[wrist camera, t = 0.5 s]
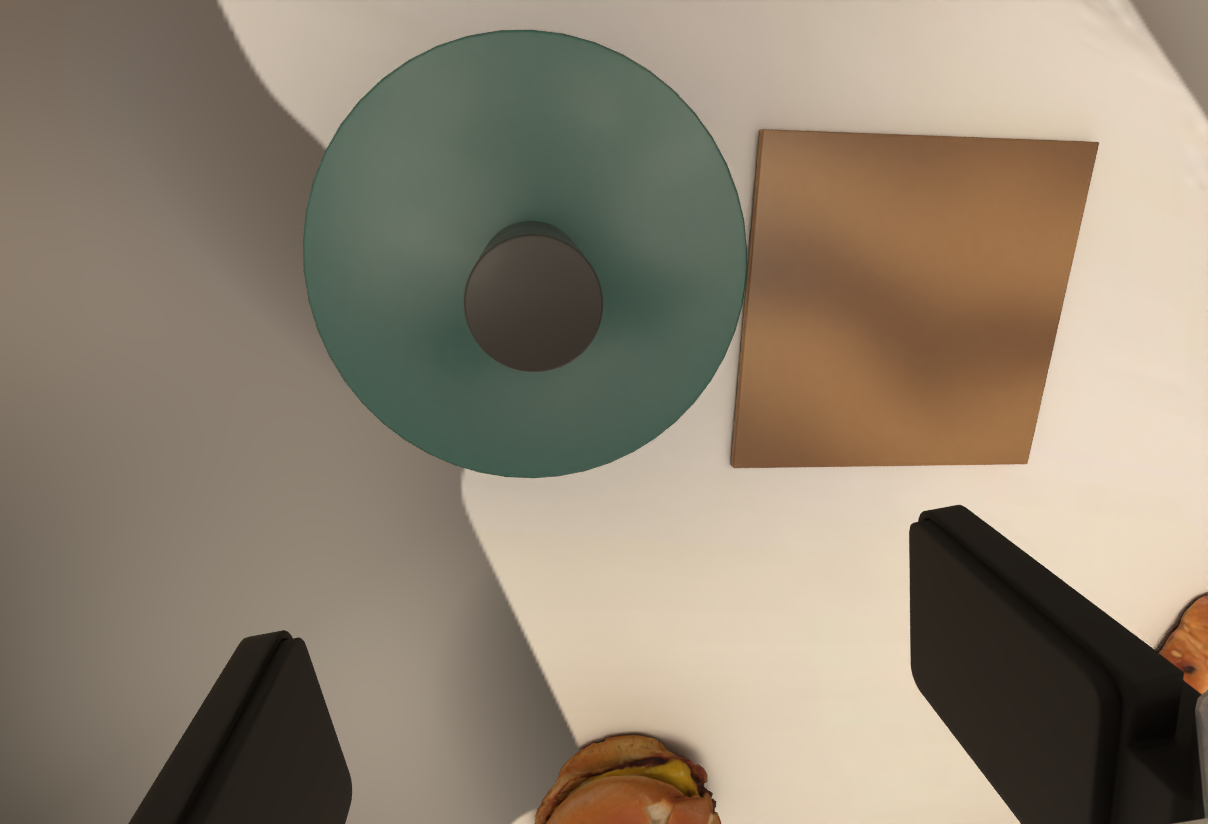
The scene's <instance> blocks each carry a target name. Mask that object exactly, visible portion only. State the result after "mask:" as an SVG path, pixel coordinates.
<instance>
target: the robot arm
mask: <svg viewBox="0 0 1208 824" xmlns="http://www.w3.org/2000/svg"><path fill="white" fill-rule="evenodd" d="M909 553H910V644H911V670H912V675H913V678H914V681H915V683H916V685H917V687H918V689H919V690H920V692H921V693H922V694H923V696H924V697H925V698H926V700H927V701H928V702H929V704H930V705H931V706H932V707H933V709H934V710H935V711H936V713H937V714H938V715H939V717H940V718H941V719H942V721H943V722H944V723H945V725H946V726H947V727H948V728H949V730H950V731H951V732H952V734H953V735H954V736H955V738H956V739H957V740H958V742H959V743H960V744H961V745H962V747H963V748H964V749H965V751H966V752H967V753H968V755H969V756H970V757H971V759H972V760H973V761H974V762H975V764H976V765H977V766H978V768H979V769H980V770H981V772H982V773H983V774H984V776H985V777H986V778H987V780H988V781H989V782H990V783H991V785H992V786H993V787H994V789H995V790H996V791H997V793H998V794H999V795H1000V797H1001V798H1002V799H1003V800H1004V802H1005V803H1006V804H1007V806H1008V807H1009V808H1010V810H1011V811H1012V812H1013V814H1014V815H1015V816H1016V818H1017V819H1018V820H1019V821H1020V823H1021V824H1208V690H1207V691H1206V692H1205V693H1203V694H1201V693H1199V692H1198V691H1197V690H1196V689H1194V688H1193V687H1192V686H1190V685H1189V684H1188V683H1186V682H1185V681H1184V680H1183V677H1184V672H1183V671H1182V670H1180V669H1179V668H1178V667H1176V666H1175V665H1174V664H1172V663H1171V662H1170V661H1168V660H1167V659H1166V658H1164V657H1163V656H1162V655H1161V654H1159V653H1158V652H1157V651H1155V650H1154V649H1153V648H1151V647H1150V646H1149V645H1147V644H1146V643H1145V642H1143V641H1142V640H1141V639H1139V638H1138V637H1137V636H1135V635H1134V634H1133V633H1131V632H1130V631H1129V630H1127V629H1126V628H1125V627H1123V626H1122V625H1121V624H1119V623H1118V622H1117V621H1115V620H1114V619H1113V618H1111V617H1110V616H1109V615H1108V614H1106V613H1105V612H1104V611H1102V610H1101V609H1100V608H1098V607H1097V606H1096V605H1094V604H1093V603H1092V602H1090V601H1089V600H1088V599H1086V598H1085V597H1084V596H1082V595H1081V594H1080V593H1078V592H1077V591H1076V590H1074V589H1073V588H1072V587H1070V586H1069V585H1068V584H1066V583H1065V582H1064V581H1062V580H1061V579H1060V578H1058V577H1057V576H1056V575H1055V574H1053V573H1052V572H1051V571H1049V570H1048V569H1047V568H1045V567H1044V566H1043V565H1041V564H1040V563H1039V562H1037V561H1036V560H1035V559H1033V558H1032V557H1031V556H1029V555H1028V554H1027V553H1025V552H1024V551H1023V550H1021V549H1020V548H1019V547H1017V546H1016V545H1015V544H1013V543H1012V542H1011V541H1009V540H1008V539H1007V538H1005V537H1004V536H1003V535H1002V534H1000V533H999V532H998V531H996V530H995V529H994V528H992V527H991V526H990V525H988V524H987V523H986V522H984V521H983V520H982V519H980V518H979V517H978V516H976V515H975V514H974V513H972V512H971V511H970V510H968V509H967V508H966V507H964V506H962V505H955V506H950V507H944V508H939V509H933V510H928V511H923V512H922V513H921V514H920V517H919V520H918V522H915V523H913V524H911V526H910V531H909ZM351 800H352V783H351V777H350V773H349V770H348V767H347V765H346V761H345V759H344V756H343V753H342V750H341V747H340V744H339V741H338V738H337V735H336V732H335V729H334V726H333V723H332V720H331V718H330V714H329V712H328V709H327V706H326V703H325V700H324V697H323V694H322V691H321V688H320V685H319V683H318V680H317V676H316V673H315V671H314V667H313V665H312V662H311V659H310V656H309V653H308V650H307V647H306V645H305V642H304V641H303V640H302V639H301V638H294V639H293V638H292V636H291V635H290V634H289V632H287V631H285V630H283V631H278V632H272V633H267V634H262V635H256V636H251V637H247V638H244V639H243V640H242V641H241V642H240V644H239V645H238V647H237V648H236V650H235V652H234V653H233V655H232V657H231V658H230V660H229V661H228V663H227V665H226V667H225V668H224V670H223V671H222V673H221V674H220V676H219V678H218V679H217V681H216V683H215V684H214V686H213V687H212V689H211V691H210V693H209V694H208V696H207V697H206V699H205V700H204V702H203V704H202V705H201V707H200V709H199V710H198V712H197V714H196V715H195V717H194V718H193V720H192V722H191V723H190V725H189V726H188V728H187V730H186V731H185V733H184V734H183V736H182V738H181V739H180V741H179V743H178V745H177V746H176V747H175V749H174V751H173V753H172V754H171V756H170V757H169V759H168V761H167V762H166V764H165V765H164V767H163V769H162V770H161V772H160V773H159V775H158V777H157V778H156V780H155V782H154V783H153V785H152V786H151V788H150V790H149V791H148V793H147V795H146V796H145V798H144V799H143V801H142V803H141V804H140V806H139V807H138V809H137V811H136V812H135V814H134V816H133V817H132V819H131V821H130V822H129V824H345V822H346V819H347V815H348V812H349V808H350V804H351Z"/></svg>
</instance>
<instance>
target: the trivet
mask: <svg viewBox="0 0 1208 824" xmlns="http://www.w3.org/2000/svg"><path fill="white" fill-rule="evenodd" d="M1098 145H1099V143H1098V142H1084V141H1057V140H1031V139H1004V138H978V137H951V136H925V135H898V134H872V133H845V132H819V131H792V130H766V129H764V130H760V134H759V145H758V157H757V168H756V179H755V191H754V202H753V214H752V225H751V236H750V248H749V259H748V271H747V282H746V294H745V305H744V316H743V328H742V339H741V351H740V362H739V373H738V385H737V396H736V408H735V419H734V430H733V442H732V453H731V466H732V467H733V468H776V467H849V466H921V465H993V464H1027V463H1028V458H1029V454H1030V449H1031V445H1032V440H1033V436H1034V431H1035V427H1036V422H1037V418H1038V414H1039V409H1040V405H1041V400H1042V396H1043V391H1044V387H1045V382H1046V378H1047V373H1048V369H1049V364H1050V360H1051V355H1052V351H1053V346H1054V342H1055V337H1056V333H1057V329H1058V324H1059V320H1060V315H1061V311H1062V306H1063V302H1064V297H1065V293H1066V288H1067V284H1068V279H1069V275H1070V270H1071V266H1072V261H1073V257H1074V253H1075V248H1076V244H1077V239H1078V235H1079V230H1080V226H1081V221H1082V217H1083V212H1084V208H1085V203H1086V199H1087V194H1088V190H1089V185H1090V181H1091V176H1092V172H1093V168H1094V163H1095V159H1096V154H1097V150H1098Z"/></svg>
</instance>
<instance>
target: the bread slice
mask: <svg viewBox="0 0 1208 824" xmlns="http://www.w3.org/2000/svg"><path fill="white" fill-rule="evenodd" d="M1159 654H1161V655H1162V656H1163V657H1164V658H1166V659H1167V660H1168V661H1170V662H1171V663H1172V664H1174V665H1175V666H1176V667H1178V668H1179V669H1180V670H1182V671H1183V672H1184V677H1183V680H1184V681H1185V682H1186V683H1188V684H1189V685H1190V686H1192V687H1193V688H1194V689H1196V690H1197V691H1198V692H1199V693H1201V694H1203V693H1205V692H1206V691H1207V690H1208V595H1206V596H1203V597H1201V598H1199V599H1198V600H1196V601H1195V602H1194V603H1193V604H1192V605H1191V606H1190V607H1189V608H1188V609H1187V610H1186V611H1185V613H1184V614H1183V616H1182V618H1181V622H1180V624H1179V626H1178V628H1177V629H1176V630H1175V631H1174V632H1173V633H1172V634H1171V635H1170V636H1169V637H1168V639H1167V641H1166V643H1165V645H1164V647H1163V648H1162V649H1161V651H1160V652H1159Z"/></svg>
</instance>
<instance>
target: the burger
mask: <svg viewBox="0 0 1208 824" xmlns="http://www.w3.org/2000/svg"><path fill="white" fill-rule="evenodd" d="M706 782H707V773H706V771H705V769H704V768H703V767H701V766H700V765H695V764H694V763H692V762H691V761H690V760H688V759H685V758H684V757H680V756H676V755H675V754H673V753H672V752H669V751H668V750H667V749H666V748H665V746H664V745H663V744H662V743H661V742H658V741H657V740H656V739H654V738H650V737H646V736H638V735H626V736H618V737H611V738H606V739H605V741H604V742H600V743H597V744H596V743H593V744H591V745H589V746H588V747H586V748H584V749H582V750H581V751H579V752H578V753H577V754H575V755H574V756H573V757H572V758H571V759H570V760H568V761H567V762H566V763H565V765H564V766H563V767H562V768H561V771H560V773H559V776H558V779H557V781H556V782H555V784H554V786H553V787H552V788H551V789H550V791H549V792H548V793H547V795H546V796H545V798H544V799H543V800H542V804H541V805H540V807H539V808H538V810H537V814H536V819H535V824H721V821H720V818H719V816H718V813H717V812H715V810H714V809H715V807H716V801H715V800H714V799H711V797H712V795H713V794H712V792H710V791H708V790H707V789H706V788H705V787H704V783H706Z"/></svg>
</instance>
